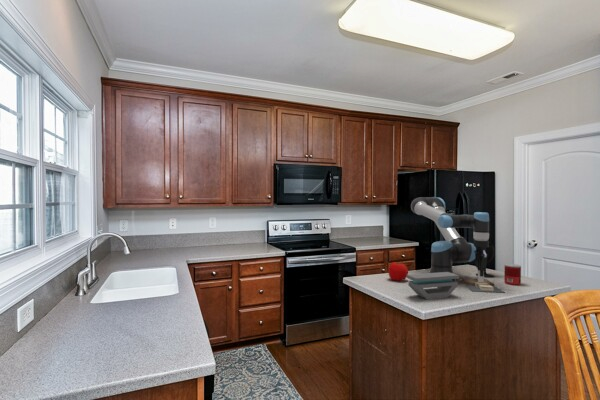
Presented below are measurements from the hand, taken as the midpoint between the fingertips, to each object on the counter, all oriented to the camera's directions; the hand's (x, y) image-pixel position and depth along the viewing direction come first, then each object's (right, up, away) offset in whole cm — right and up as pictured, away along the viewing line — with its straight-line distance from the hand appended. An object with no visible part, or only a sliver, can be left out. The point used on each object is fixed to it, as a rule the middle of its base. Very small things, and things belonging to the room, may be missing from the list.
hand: (480, 281), depth 181 cm
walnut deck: (+1, -3, +5) cm, 6 cm away
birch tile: (-1, -3, -4) cm, 5 cm away
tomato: (-42, -3, +14) cm, 45 cm away
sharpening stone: (-35, -3, -18) cm, 39 cm away
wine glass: (+17, -3, +26) cm, 31 cm away
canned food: (+22, -3, +7) cm, 23 cm away
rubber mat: (-1, -3, -5) cm, 6 cm away
